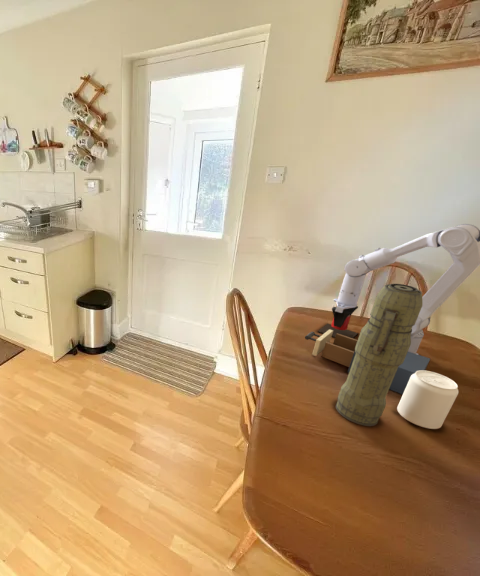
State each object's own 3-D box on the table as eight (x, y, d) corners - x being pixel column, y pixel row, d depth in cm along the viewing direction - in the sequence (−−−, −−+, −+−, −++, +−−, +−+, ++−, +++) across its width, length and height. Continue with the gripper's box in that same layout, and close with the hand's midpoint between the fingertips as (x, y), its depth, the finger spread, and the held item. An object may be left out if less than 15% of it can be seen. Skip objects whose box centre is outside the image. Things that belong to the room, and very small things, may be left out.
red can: (333, 323, 122) (337, 309, 119) (348, 327, 118) (353, 314, 116) (329, 326, 119) (333, 313, 117) (344, 331, 115) (348, 317, 113)
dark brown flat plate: (327, 324, 126) (327, 323, 126) (357, 334, 118) (358, 333, 118) (317, 331, 120) (317, 330, 120) (348, 342, 113) (348, 341, 113)
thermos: (380, 409, 82) (432, 285, 69) (375, 435, 74) (432, 300, 61) (339, 393, 87) (379, 276, 75) (330, 416, 80) (374, 289, 67)
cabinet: (347, 372, 97) (354, 351, 94) (360, 358, 104) (367, 338, 101) (411, 398, 86) (421, 375, 83) (420, 380, 93) (430, 358, 90)
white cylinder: (450, 433, 74) (471, 392, 70) (410, 428, 76) (429, 388, 72) (424, 409, 82) (442, 371, 77) (388, 405, 83) (404, 367, 79)
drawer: (298, 349, 107) (302, 334, 105) (311, 338, 114) (315, 324, 112) (361, 374, 94) (367, 358, 92) (373, 361, 100) (379, 345, 98)
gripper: (344, 283, 120) (334, 315, 125) (330, 292, 112) (320, 326, 117) (367, 289, 115) (356, 321, 120) (353, 298, 107) (342, 333, 112)
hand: (339, 324), depth 118 cm, fingers closed on red can, 5 cm apart
